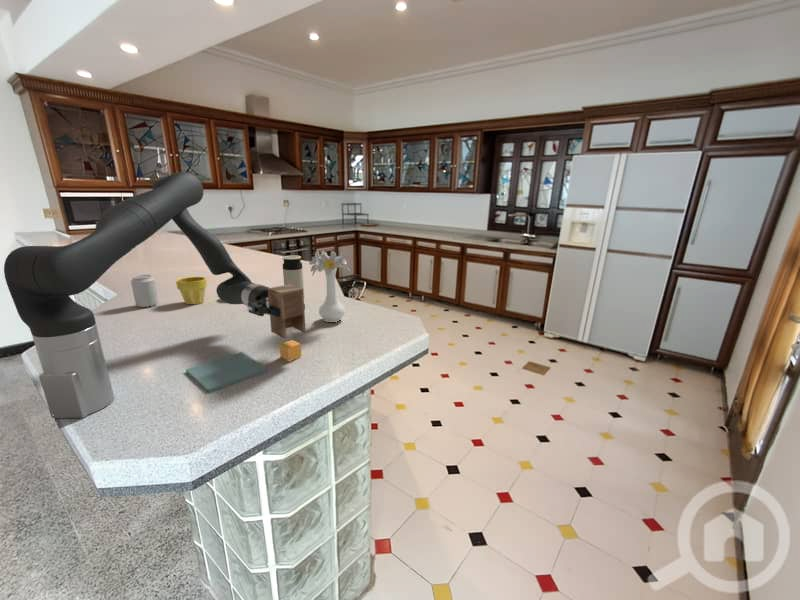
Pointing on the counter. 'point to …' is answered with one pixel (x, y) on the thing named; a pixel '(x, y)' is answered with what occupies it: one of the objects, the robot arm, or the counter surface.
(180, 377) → the counter surface
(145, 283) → the can
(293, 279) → the travel mug
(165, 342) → the counter surface
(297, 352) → the orange block
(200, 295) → the plant pot
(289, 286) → the walnut cover
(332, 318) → the flower vase
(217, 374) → the teal mat
